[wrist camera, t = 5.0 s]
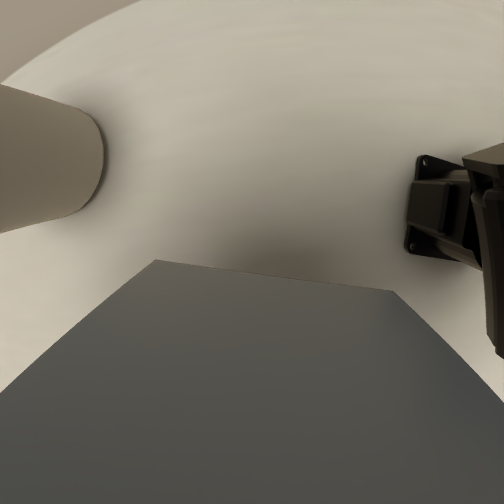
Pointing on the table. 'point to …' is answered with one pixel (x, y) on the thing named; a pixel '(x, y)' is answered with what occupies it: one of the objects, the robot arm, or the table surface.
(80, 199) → the can
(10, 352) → the table surface
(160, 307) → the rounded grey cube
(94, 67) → the table surface
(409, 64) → the table surface
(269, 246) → the table surface
